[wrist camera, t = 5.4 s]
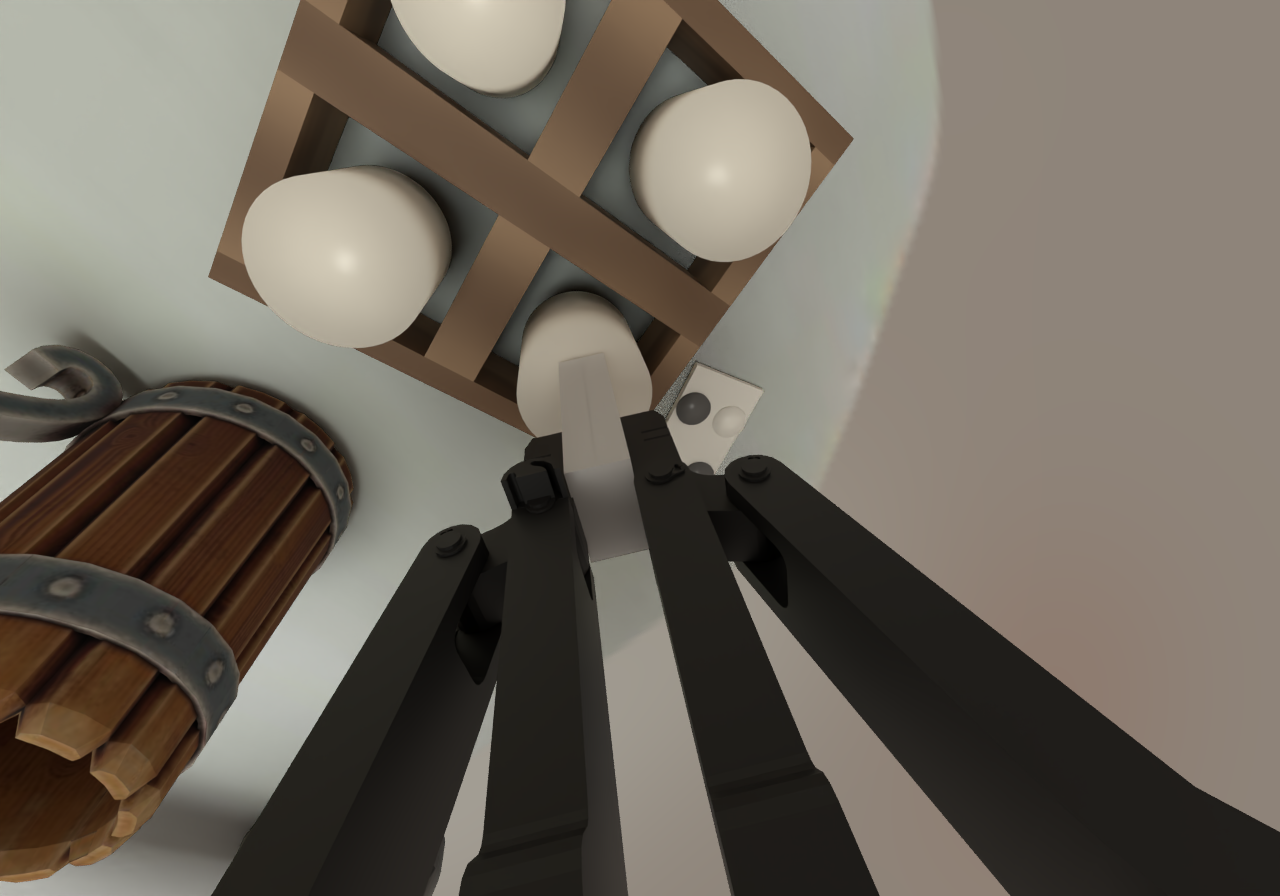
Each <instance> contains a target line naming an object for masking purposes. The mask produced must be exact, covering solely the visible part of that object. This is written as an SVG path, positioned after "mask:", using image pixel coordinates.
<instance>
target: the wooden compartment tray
mask: <svg viewBox="0 0 1280 896" xmlns="http://www.w3.org/2000/svg"><path fill="white" fill-rule="evenodd" d="M391 7H392V3H391V0H300V3H299V6H298V9H297V12H296V15H295V18H294V21H293V24H292V27H291V30H290V33H289V36H288V39H287V42H286V45H285V48H284V51H283V54H282V57H281V60H280V63H279V66H278V69H277V72H276V75H275V78H274V81H273V84H272V87H271V90H270V93H269V96H268V99H267V102H266V105H265V108H264V111H263V114H262V117H261V120H260V123H259V126H258V129H257V132H256V135H255V138H254V141H253V144H252V147H251V150H250V153H249V156H248V159H247V162H246V165H245V168H244V171H243V174H242V177H241V180H240V183H239V186H238V189H237V192H236V195H235V198H234V201H233V204H232V207H231V210H230V213H229V216H228V219H227V222H226V225H225V228H224V231H223V234H222V237H221V240H220V243H219V246H218V249H217V252H216V255H215V258H214V261H213V264H212V267H211V270H210V273H209V276H208V277H209V278H211V279H213V280H215V281H217V282H219V283H221V284H223V285H226V286H228V287H230V288H232V289H234V290H236V291H238V292H240V293H242V294H244V295H246V296H248V297H250V298H252V299H254V300H256V301H258V302H260V303H262V304H264V305H266V306H268V305H267V304H266V303H265V301H264V300H263V299H262V298H261V296H260V295H259V293H258V292H257V290H256V288H255V287H254V285H253V283H252V281H251V279H250V277H249V275H248V272H247V269H246V266H245V263H244V258H243V253H242V229H243V225H244V221H245V217H246V215H247V213H248V211H249V208H250V207H251V205H252V204H253V202H254V201H255V199H256V198H257V197H258V196H259V195H260V194H261V193H262V192H263V191H264V190H266V189H267V188H269V187H270V186H271V185H273V184H275V183H277V182H279V181H281V180H283V179H287V178H290V177H294V176H299V175H305V174H311V173H317V172H324V171H327V170H328V168H329V165H330V163H331V160H332V158H333V155H334V153H335V150H336V147H337V145H338V142H339V140H340V137H341V135H342V132H343V130H344V127H345V124H346V122H347V119H348V117H349V116H350V117H351V118H353V119H354V120H356V121H357V122H359V123H360V124H362V125H363V126H365V127H366V128H368V129H369V130H371V131H372V132H374V133H375V134H377V135H378V136H380V137H381V138H383V139H385V140H386V141H388V142H389V143H391V144H392V145H394V146H395V147H397V148H398V149H400V150H401V151H403V152H404V153H406V154H407V155H409V156H410V157H412V158H413V159H415V160H416V161H418V162H419V163H421V164H422V165H424V166H426V167H427V168H429V169H430V170H432V171H433V172H435V173H436V174H438V175H439V176H441V177H442V178H444V179H445V180H447V181H448V182H450V183H451V184H453V185H454V186H456V187H457V188H459V189H460V190H462V191H464V192H465V193H467V194H468V195H470V196H471V197H473V198H474V199H476V200H477V201H479V202H480V203H482V204H483V205H485V206H486V207H488V208H489V209H491V210H492V211H494V212H495V213H497V214H498V217H497V219H496V221H495V223H494V225H493V227H492V229H491V231H490V233H489V235H488V236H487V238H486V240H485V242H484V244H483V246H482V248H481V250H480V252H479V254H478V255H477V257H476V259H475V261H474V263H473V265H472V267H471V269H470V271H469V273H468V274H467V276H466V278H465V280H464V282H463V284H462V286H461V288H460V290H459V292H458V293H457V295H456V297H455V299H454V301H453V303H452V305H451V307H450V309H449V311H448V313H447V314H446V316H445V318H444V320H443V322H442V324H439V323H437V322H435V321H434V320H432V319H430V318H428V317H426V316H424V315H423V314H421V313H419V314H418V316H417V317H416V319H415V320H414V321H413V323H412V324H411V325H410V326H409V327H408V328H407V329H406V330H405V331H404V332H403V333H401V334H400V335H399V336H397V337H395V338H394V339H392V340H390V341H388V342H385V343H383V344H379V345H376V346H371V347H365V348H354V349H356V350H358V351H360V352H362V353H364V354H366V355H368V356H370V357H372V358H374V359H376V360H379V361H381V362H383V363H385V364H387V365H389V366H391V367H393V368H395V369H397V370H399V371H401V372H403V373H405V374H407V375H409V376H411V377H413V378H415V379H417V380H419V381H421V382H423V383H425V384H427V385H430V386H432V387H434V388H436V389H438V390H440V391H442V392H444V393H446V394H448V395H450V396H452V397H454V398H456V399H458V400H460V401H462V402H464V403H466V404H468V405H470V406H472V407H474V408H476V409H478V410H481V411H483V412H485V413H487V414H489V415H491V416H493V417H495V418H497V419H499V420H501V421H503V422H505V423H507V424H509V425H511V426H513V427H515V428H517V429H519V430H521V431H523V432H525V433H527V434H529V435H532V436H534V437H536V436H535V435H534V434H533V433H532V432H531V431H530V429H529V428H528V427H527V426H526V424H525V422H524V420H523V419H522V416H521V414H520V411H519V408H518V404H517V382H518V372H519V367H518V366H517V365H515V364H513V363H511V362H509V361H507V360H506V359H504V358H502V357H500V356H498V355H496V354H494V353H493V352H491V350H492V349H493V347H494V345H495V343H496V342H497V340H498V338H499V336H500V335H501V333H502V331H503V329H504V328H505V326H506V324H507V323H508V321H509V319H510V317H511V316H512V314H513V312H514V310H515V309H516V307H517V305H518V303H519V302H520V300H521V298H522V297H523V295H524V293H525V291H526V290H527V288H528V286H529V284H530V283H531V281H532V279H533V277H534V276H535V274H536V272H537V270H538V269H539V267H540V265H541V264H542V262H543V260H544V258H545V257H546V255H547V253H548V251H549V250H550V249H552V250H553V251H555V252H556V253H558V254H559V255H561V256H562V257H564V258H565V259H567V260H568V261H570V262H571V263H573V264H574V265H576V266H577V267H579V268H580V269H582V270H584V271H585V272H587V273H588V274H590V275H591V276H593V277H594V278H596V279H597V280H599V281H600V282H602V283H603V284H605V285H606V286H608V287H609V288H611V289H612V290H614V291H615V292H617V293H618V294H620V295H621V296H623V297H625V298H626V299H628V300H629V301H631V302H632V303H634V304H635V305H637V306H638V307H640V308H641V309H643V310H644V311H646V312H647V313H649V314H650V315H652V316H653V317H655V318H654V320H653V321H652V323H651V324H650V326H649V327H648V329H647V330H646V331H645V333H644V334H643V336H642V337H641V339H640V340H639V342H638V343H637V346H638V348H639V350H640V353H641V355H642V357H643V359H644V362H645V364H646V366H647V369H648V371H649V374H650V377H651V382H652V400H651V405H650V409H649V411H650V410H654V409H655V407H656V406H657V405H658V403H659V402H660V401H661V399H662V398H663V396H664V395H665V394H666V392H667V391H668V390H669V388H670V387H671V386H672V384H673V383H674V382H675V380H676V379H677V377H678V376H679V375H680V373H681V372H682V371H683V369H684V368H685V367H686V365H687V364H688V363H689V361H690V360H691V359H692V357H693V356H694V354H695V353H696V352H697V350H698V349H699V348H700V346H701V345H702V344H703V342H704V341H705V340H706V338H707V337H708V336H709V334H710V333H711V331H712V330H713V329H714V327H715V326H716V325H717V323H718V322H719V321H720V319H721V318H722V317H723V315H724V314H725V312H726V311H727V310H728V308H729V307H730V306H731V304H732V303H733V302H734V300H735V299H736V298H737V296H738V295H739V294H740V292H741V291H742V289H743V288H744V287H745V285H746V284H747V283H748V281H749V280H750V279H751V277H752V276H753V275H754V273H755V272H756V271H757V269H758V268H759V266H760V265H761V264H762V262H763V261H764V260H765V258H766V257H767V256H768V254H769V253H770V252H771V250H772V249H773V247H774V246H775V245H776V243H777V242H778V241H779V239H780V238H781V237H782V236H781V237H780V238H779V239H778V240H777V241H776V242H775V243H773V244H772V245H771V246H769V247H768V248H767V249H765V250H763V251H762V252H760V253H758V254H756V255H754V256H752V257H749V258H746V259H743V260H739V261H732V262H717V261H710V260H707V259H703V258H701V257H698V256H697V257H696V259H695V260H694V262H693V263H692V264H691V266H690V267H689V269H688V270H687V269H685V268H684V267H682V266H681V265H680V264H678V263H677V262H676V261H674V260H673V259H671V258H670V257H669V256H667V255H666V254H665V253H663V252H662V251H660V250H659V249H658V248H656V247H655V246H653V245H652V244H651V243H649V242H648V241H647V240H645V239H644V238H642V237H641V236H640V235H638V234H637V233H636V232H634V231H633V230H631V229H630V228H629V227H627V226H626V225H625V224H623V223H622V222H620V221H619V220H618V219H616V218H615V217H613V216H612V215H611V214H609V213H608V212H607V211H605V210H604V209H602V208H601V207H600V206H598V205H597V204H596V203H594V202H593V201H591V200H590V199H589V198H587V197H586V196H585V195H583V194H582V192H583V191H584V189H585V187H586V185H587V184H588V182H589V180H590V178H591V177H592V175H593V173H594V171H595V170H596V168H597V166H598V165H599V163H600V161H601V159H602V158H603V156H604V154H605V152H606V151H607V149H608V147H609V145H610V144H611V142H612V140H613V138H614V137H615V135H616V133H617V132H618V130H619V128H620V126H621V125H622V123H623V121H624V119H625V118H626V116H627V114H628V112H629V111H630V109H631V107H632V106H633V104H634V102H635V100H636V99H637V97H638V95H639V93H640V92H641V90H642V88H643V86H644V85H645V83H646V81H647V79H648V78H649V76H650V74H651V73H652V71H653V69H654V67H655V66H656V64H657V62H658V60H659V59H660V57H661V55H662V53H663V52H664V50H665V48H666V46H667V47H668V48H669V49H670V50H671V51H672V52H673V53H674V54H675V55H676V56H677V57H678V58H680V59H681V60H682V61H683V62H684V63H685V64H686V65H687V66H688V67H689V68H690V69H691V70H692V71H694V72H695V73H696V74H697V75H698V76H699V77H700V78H701V79H702V80H703V81H704V82H705V83H707V84H708V85H713V84H716V83H719V82H723V81H726V80H734V79H748V80H753V81H758V82H761V83H764V84H766V85H769V86H771V87H772V88H774V89H776V90H777V91H779V92H780V93H781V94H782V95H784V96H785V97H786V98H787V99H788V100H789V101H790V102H791V104H792V105H793V106H794V107H795V109H796V110H797V112H798V113H799V115H800V117H801V119H802V121H803V123H804V125H805V128H806V131H807V134H808V138H809V143H810V149H811V174H810V180H809V186H808V189H807V193H806V196H805V199H804V201H803V204H802V207H801V208H800V210H799V212H800V211H801V210H802V208H803V207H804V206H805V204H806V203H807V201H808V200H809V199H810V197H811V196H812V195H813V193H814V192H815V191H816V189H817V188H818V187H819V185H820V184H821V183H822V181H823V180H824V178H825V177H826V176H827V174H828V173H829V172H830V170H831V169H832V168H833V166H834V165H835V164H836V162H837V161H838V159H839V158H840V157H841V155H842V154H843V153H844V151H845V150H846V149H847V147H848V146H849V145H850V143H851V142H852V141H853V139H854V138H853V137H852V136H851V135H850V134H849V133H848V132H847V131H846V130H845V129H844V128H843V127H842V126H841V125H840V124H839V123H838V122H837V121H836V120H835V119H834V118H833V117H832V116H831V115H830V114H829V113H828V112H827V111H826V110H825V109H824V108H823V107H822V106H821V105H820V104H819V103H818V102H817V101H816V100H815V99H814V98H813V97H812V96H811V95H810V94H809V93H808V92H807V91H806V90H805V89H804V88H803V87H802V86H801V85H800V83H799V82H798V81H797V80H796V79H795V78H794V77H793V76H792V75H791V74H790V73H789V72H788V71H787V70H786V69H785V68H784V67H783V66H782V65H781V64H780V63H779V62H778V61H777V60H776V59H775V58H774V57H773V56H772V55H771V54H770V53H769V52H768V51H767V50H766V49H765V48H764V47H763V46H762V45H761V44H760V43H759V42H758V41H757V40H756V39H755V38H754V37H753V36H752V35H751V34H750V33H749V32H748V31H747V30H746V29H745V28H744V27H743V26H742V24H741V23H740V22H739V21H738V20H737V19H736V18H735V17H734V16H733V15H732V14H731V13H730V12H729V11H728V10H727V9H726V8H725V7H724V6H723V5H722V4H721V3H720V2H719V1H718V0H611V2H610V4H609V6H608V8H607V10H606V12H605V14H604V16H603V18H602V19H601V21H600V23H599V25H598V27H597V29H596V31H595V33H594V35H593V37H592V39H591V40H590V42H589V44H588V46H587V48H586V50H585V52H584V54H583V56H582V58H581V59H580V61H579V63H578V65H577V67H576V69H575V71H574V73H573V75H572V77H571V78H570V80H569V82H568V84H567V86H566V88H565V90H564V92H563V94H562V96H561V98H560V99H559V101H558V103H557V105H556V107H555V109H554V111H553V113H552V115H551V117H550V118H549V120H548V122H547V124H546V126H545V128H544V130H543V132H542V134H541V136H540V137H539V139H538V141H537V143H536V145H535V147H534V149H533V151H532V153H531V155H530V156H529V155H528V154H527V153H525V152H524V151H522V150H521V149H520V148H518V147H517V146H516V145H514V144H513V143H511V142H510V141H509V140H507V139H506V138H505V137H503V136H502V135H500V134H499V133H498V132H496V131H495V130H494V129H492V128H491V127H489V126H488V125H487V124H485V123H484V122H482V121H481V120H480V119H478V118H477V117H476V116H474V115H473V114H471V113H470V112H469V111H467V110H466V109H465V108H463V107H462V106H460V105H459V104H458V103H456V102H455V101H454V100H452V99H451V98H449V97H448V96H447V95H445V94H444V93H442V92H441V91H440V90H438V89H437V88H436V87H434V86H433V85H431V84H430V83H429V82H427V81H426V80H425V79H423V78H422V77H420V76H419V75H418V74H416V73H415V72H414V71H412V70H411V69H409V68H408V67H407V66H405V65H404V64H402V63H401V62H400V61H398V60H397V59H396V58H394V57H393V56H391V55H390V54H389V53H387V52H386V51H385V50H383V49H382V48H380V47H379V46H378V45H377V43H378V40H379V37H380V35H381V32H382V30H383V27H384V25H385V22H386V20H387V17H388V14H389V12H390V9H391ZM799 212H798V214H799ZM798 214H797V215H798ZM268 307H269V306H268ZM536 438H537V437H536Z"/></svg>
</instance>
